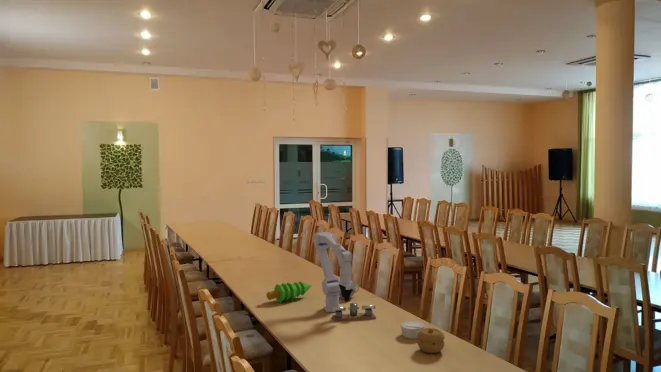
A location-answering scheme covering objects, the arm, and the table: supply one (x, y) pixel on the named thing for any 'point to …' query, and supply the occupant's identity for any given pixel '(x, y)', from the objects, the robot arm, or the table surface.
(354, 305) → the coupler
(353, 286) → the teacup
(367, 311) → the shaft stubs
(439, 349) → the pot
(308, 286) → the decorative tree
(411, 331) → the ramekin
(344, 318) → the shaft board
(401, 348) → the table surface
